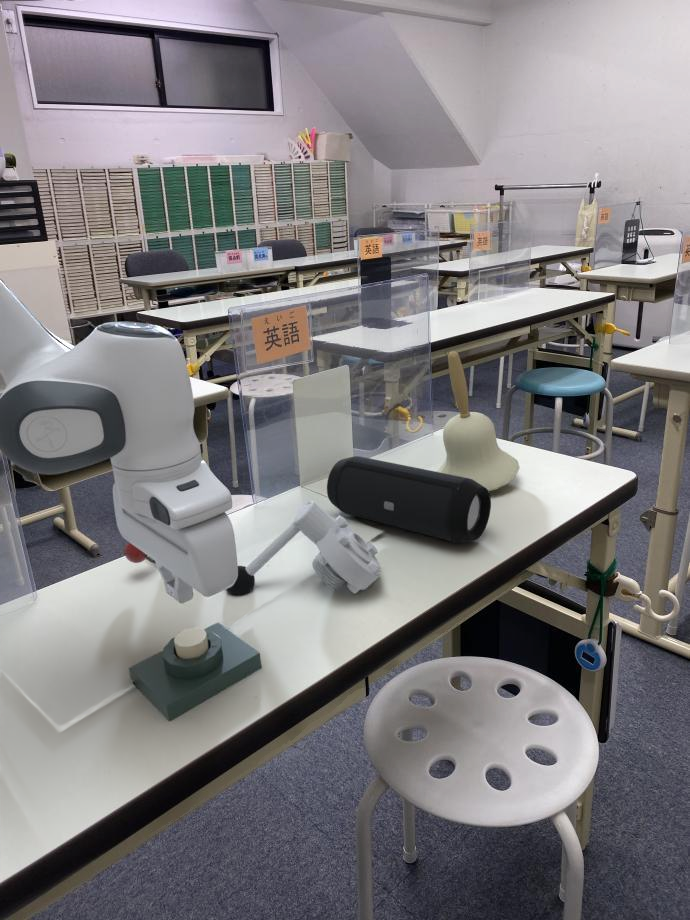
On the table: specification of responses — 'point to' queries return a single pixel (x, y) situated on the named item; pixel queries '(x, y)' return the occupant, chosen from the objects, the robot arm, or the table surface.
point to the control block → (194, 672)
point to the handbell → (473, 440)
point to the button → (191, 643)
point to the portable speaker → (410, 498)
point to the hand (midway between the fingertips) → (180, 596)
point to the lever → (134, 553)
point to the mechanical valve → (321, 552)
